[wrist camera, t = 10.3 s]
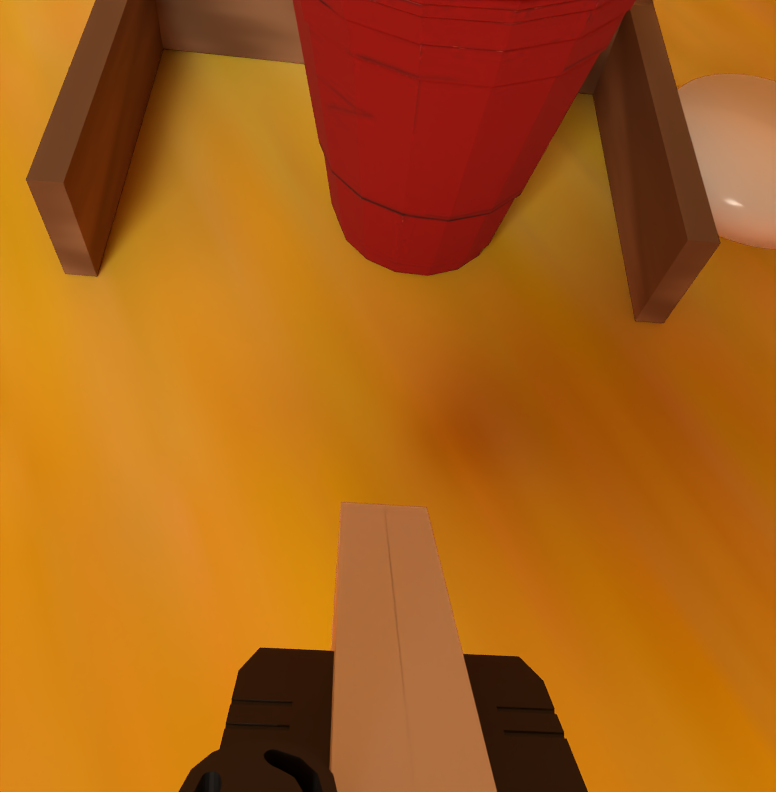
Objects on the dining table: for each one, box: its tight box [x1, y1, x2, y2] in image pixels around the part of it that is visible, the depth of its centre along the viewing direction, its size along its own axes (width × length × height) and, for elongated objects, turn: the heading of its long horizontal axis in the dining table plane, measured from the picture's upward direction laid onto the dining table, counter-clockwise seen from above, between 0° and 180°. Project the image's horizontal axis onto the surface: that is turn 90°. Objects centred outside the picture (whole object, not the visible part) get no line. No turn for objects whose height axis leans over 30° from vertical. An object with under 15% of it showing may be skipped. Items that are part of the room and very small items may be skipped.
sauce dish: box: [678, 74, 776, 249], centre depth 29 cm, size 8×8×2 cm
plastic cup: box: [293, 0, 635, 275], centre depth 22 cm, size 11×11×12 cm
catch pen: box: [26, 0, 720, 323], centre depth 26 cm, size 20×13×4 cm, turn 88°
